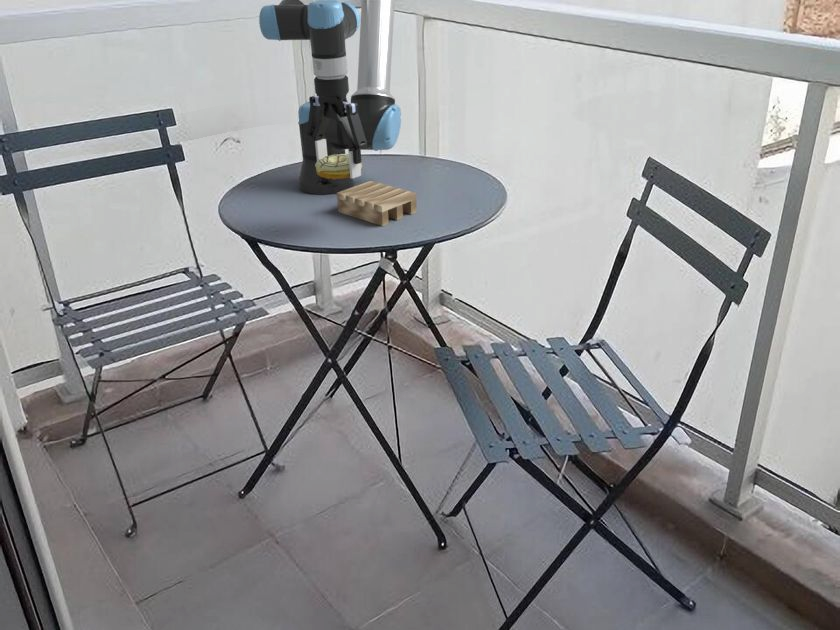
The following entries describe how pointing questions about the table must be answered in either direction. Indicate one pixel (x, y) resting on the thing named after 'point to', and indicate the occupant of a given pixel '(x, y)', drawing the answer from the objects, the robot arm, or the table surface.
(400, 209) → the pallet
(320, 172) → the decorated donut
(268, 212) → the table surface
